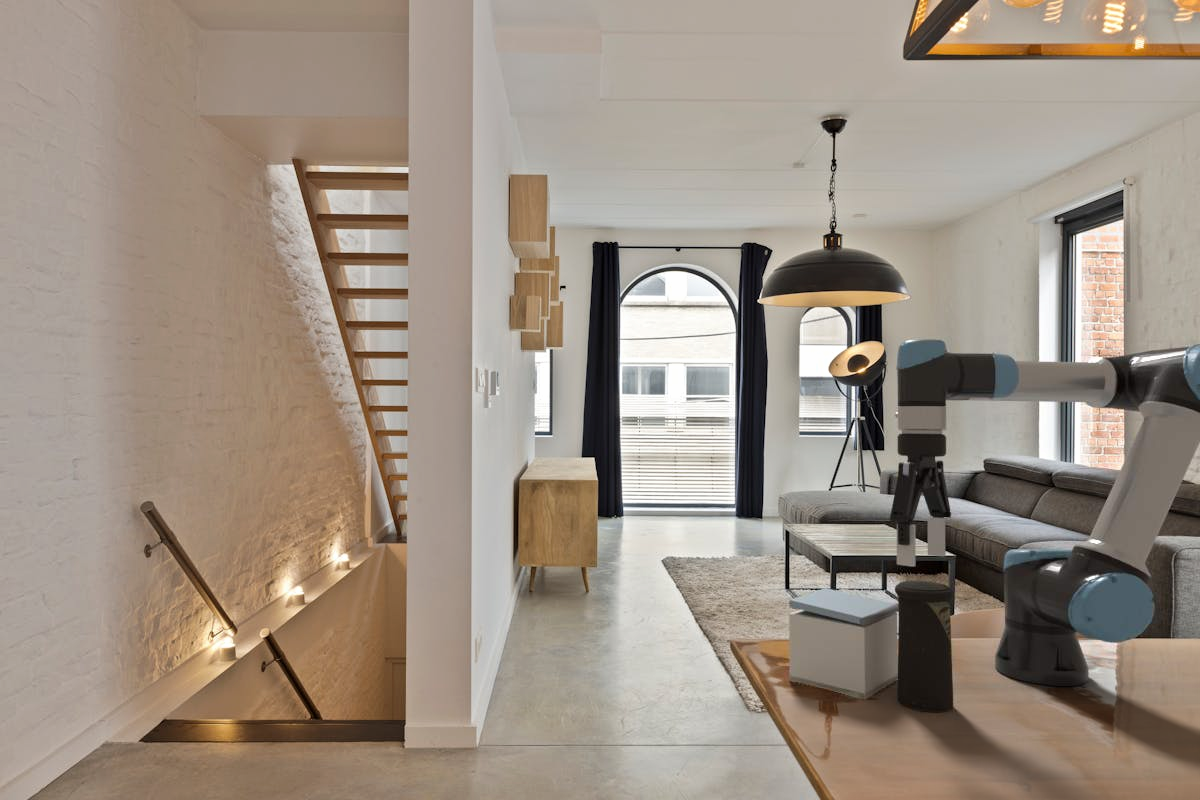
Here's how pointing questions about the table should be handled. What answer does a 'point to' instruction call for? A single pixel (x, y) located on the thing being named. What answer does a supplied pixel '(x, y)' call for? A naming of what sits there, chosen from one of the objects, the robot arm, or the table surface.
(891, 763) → the table surface
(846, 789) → the table surface
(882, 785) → the table surface
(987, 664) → the table surface
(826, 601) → the lid
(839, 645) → the box
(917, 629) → the container
